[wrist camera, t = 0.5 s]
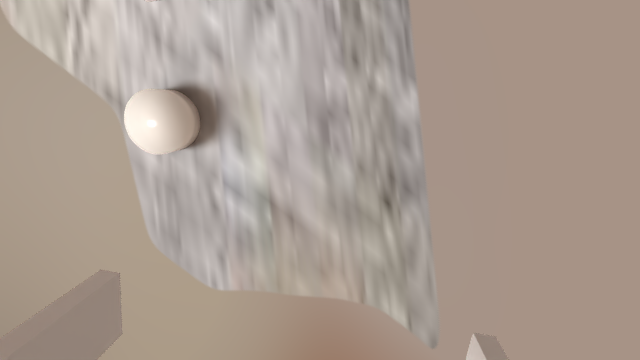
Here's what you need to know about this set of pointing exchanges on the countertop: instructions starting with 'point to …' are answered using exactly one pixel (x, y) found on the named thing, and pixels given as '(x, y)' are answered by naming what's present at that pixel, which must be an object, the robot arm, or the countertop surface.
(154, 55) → the countertop surface
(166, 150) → the cream rounded dome part
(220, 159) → the countertop surface
